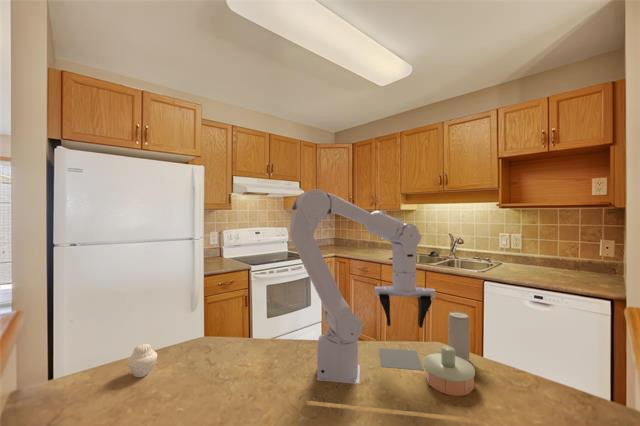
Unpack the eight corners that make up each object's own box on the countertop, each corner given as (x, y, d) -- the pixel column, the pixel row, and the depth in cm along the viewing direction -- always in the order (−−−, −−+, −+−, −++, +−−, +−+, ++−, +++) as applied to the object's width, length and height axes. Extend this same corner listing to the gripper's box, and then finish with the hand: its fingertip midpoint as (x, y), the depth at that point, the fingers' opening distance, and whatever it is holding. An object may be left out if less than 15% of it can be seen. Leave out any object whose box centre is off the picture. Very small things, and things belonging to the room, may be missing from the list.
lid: (429, 379, 59) (429, 358, 59) (419, 355, 70) (419, 337, 70) (483, 383, 58) (483, 362, 58) (464, 358, 68) (464, 340, 68)
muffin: (123, 373, 68) (124, 344, 68) (152, 364, 73) (152, 336, 73) (131, 384, 64) (131, 352, 64) (161, 373, 68) (161, 343, 69)
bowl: (431, 396, 60) (431, 378, 60) (423, 372, 69) (423, 357, 69) (478, 400, 58) (478, 382, 58) (463, 375, 67) (463, 360, 67)
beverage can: (472, 367, 71) (471, 318, 71) (451, 365, 72) (450, 317, 72) (466, 357, 76) (466, 312, 76) (446, 356, 77) (446, 310, 77)
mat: (380, 369, 70) (380, 366, 70) (379, 350, 80) (379, 347, 80) (423, 372, 69) (423, 370, 69) (416, 352, 78) (416, 350, 78)
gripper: (375, 273, 70) (375, 329, 69) (438, 275, 67) (438, 333, 67) (374, 268, 77) (374, 319, 76) (431, 269, 74) (431, 322, 74)
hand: (404, 325), depth 72 cm, fingers open, 7 cm apart
